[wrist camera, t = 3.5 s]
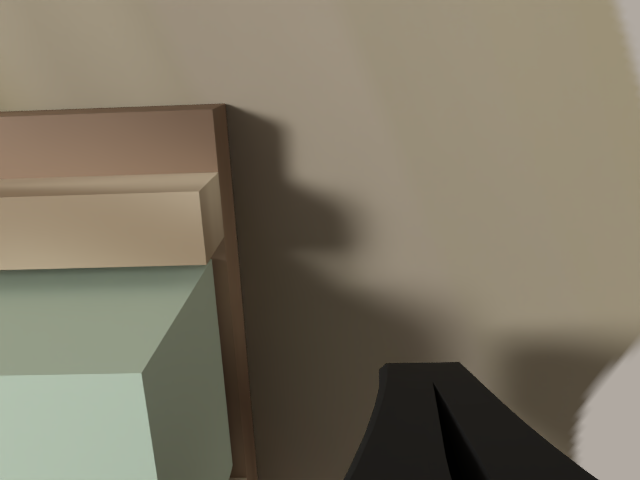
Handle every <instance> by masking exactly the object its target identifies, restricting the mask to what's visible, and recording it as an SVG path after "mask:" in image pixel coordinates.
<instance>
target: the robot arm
mask: <svg viewBox="0 0 640 480" xmlns="http://www.w3.org/2000/svg"><path fill="white" fill-rule="evenodd" d="M344 480H598V479H596V478H595V477H594V476H592V475H591V474H589V473H588V472H587V471H585V470H584V469H583V468H581V467H580V466H579V465H578V464H576V463H575V462H574V461H572V460H571V459H570V458H568V457H567V456H566V455H564V454H563V453H562V452H561V451H559V450H558V449H557V448H555V447H554V446H553V445H551V444H550V443H549V442H548V441H547V440H545V439H544V438H543V437H542V436H540V435H539V434H538V433H537V432H536V431H534V430H533V429H532V428H531V427H530V426H528V425H527V424H526V423H525V422H524V421H523V420H522V419H520V418H519V417H518V416H517V415H516V414H515V413H513V412H512V411H511V410H510V409H509V408H508V407H507V406H506V405H505V404H503V403H502V402H501V401H500V400H499V399H498V398H497V397H496V396H495V395H494V394H493V393H492V392H490V391H489V390H488V389H487V388H486V387H485V386H484V385H483V384H482V383H481V382H480V381H479V380H478V379H477V378H476V377H475V376H473V375H472V374H471V373H470V372H469V371H468V370H467V369H466V368H465V367H464V366H463V365H462V364H461V363H459V362H445V363H386V364H385V365H384V366H383V367H382V368H381V369H379V391H378V395H377V399H376V403H375V407H374V410H373V413H372V416H371V418H370V421H369V424H368V427H367V430H366V433H365V435H364V438H363V440H362V442H361V444H360V447H359V449H358V451H357V453H356V455H355V457H354V459H353V462H352V464H351V466H350V468H349V470H348V472H347V474H346V476H345V478H344Z"/></svg>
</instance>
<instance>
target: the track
mask: <svg viewBox="0 0 640 480" xmlns="http://www.w3.org/2000/svg"><path fill="white" fill-rule="evenodd" d="M210 259H212V267H213V277H214V287H215V296H216V306H217V316H218V326H219V336H220V346H221V355H222V365H223V375H224V385H225V395H226V405H227V414H228V424H229V434H230V444H231V454H232V464H233V466H232V470H231V474H230V478H229V480H258V477H257V465H256V453H255V442H254V430H253V419H252V407H251V395H250V384H249V372H248V361H247V349H246V338H245V326H244V314H243V303H242V291H241V280H240V268H239V256H238V245H237V233H236V222H235V210H234V199H233V187H232V175H231V164H230V152H229V141H228V129H227V118H226V106H225V104H202V105H174V106H147V107H120V108H93V109H65V110H38V111H11V112H0V270H23V269H63V268H102V267H141V266H180V265H207V263H208V262H209V260H210Z"/></svg>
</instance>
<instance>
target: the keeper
mask: <svg viewBox="0 0 640 480" xmlns="http://www.w3.org/2000/svg"><path fill="white" fill-rule="evenodd" d="M232 466H233V464H232V454H231V444H230V434H229V424H228V414H227V405H226V395H225V385H224V375H223V365H222V355H221V346H220V336H219V326H218V316H217V306H216V296H215V287H214V277H213V267H212V259H210V260H209V262H208V263H207V265H180V266H141V267H102V268H63V269H23V270H0V480H229V478H230V474H231V470H232Z"/></svg>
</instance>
